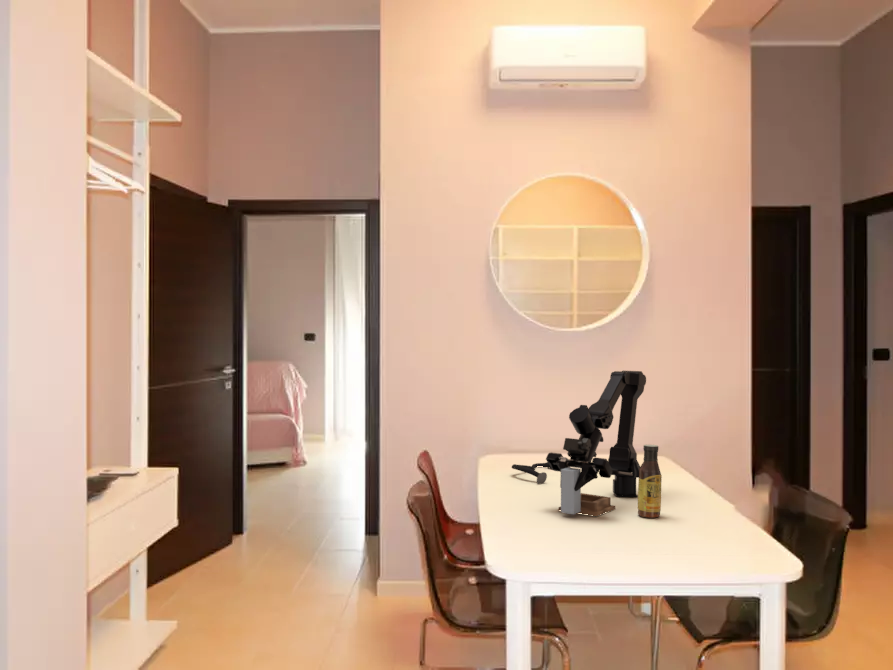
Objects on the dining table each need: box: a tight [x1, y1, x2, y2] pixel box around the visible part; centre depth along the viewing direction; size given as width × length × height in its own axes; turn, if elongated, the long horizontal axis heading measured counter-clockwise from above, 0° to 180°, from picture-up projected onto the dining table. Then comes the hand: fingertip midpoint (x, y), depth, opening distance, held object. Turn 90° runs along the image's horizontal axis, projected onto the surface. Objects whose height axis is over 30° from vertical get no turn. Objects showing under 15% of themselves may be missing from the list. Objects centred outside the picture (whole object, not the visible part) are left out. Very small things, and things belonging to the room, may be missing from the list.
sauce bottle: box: [637, 444, 663, 519], centre depth 218 cm, size 6×6×20 cm
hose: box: [511, 461, 551, 485], centre depth 279 cm, size 34×14×6 cm, turn 163°
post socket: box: [557, 492, 616, 517], centre depth 225 cm, size 12×12×4 cm
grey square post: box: [560, 467, 582, 515], centre depth 217 cm, size 4×4×12 cm
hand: (568, 489), depth 216 cm, fingers closed on grey square post, 4 cm apart
